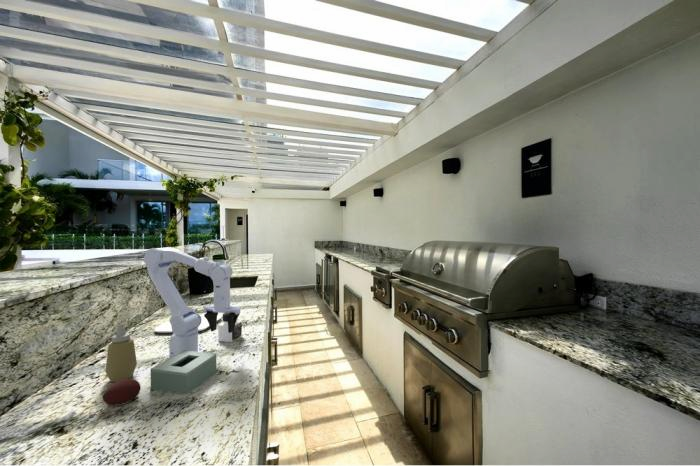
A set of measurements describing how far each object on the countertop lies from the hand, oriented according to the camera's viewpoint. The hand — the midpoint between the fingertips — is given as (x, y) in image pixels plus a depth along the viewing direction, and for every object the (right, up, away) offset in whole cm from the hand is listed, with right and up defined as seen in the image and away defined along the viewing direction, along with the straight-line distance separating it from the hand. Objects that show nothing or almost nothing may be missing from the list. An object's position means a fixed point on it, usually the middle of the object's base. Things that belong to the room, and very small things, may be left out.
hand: (222, 331), depth 106 cm
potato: (-16, -11, -27) cm, 33 cm away
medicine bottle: (-5, -10, +17) cm, 21 cm away
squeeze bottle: (-27, -10, -15) cm, 32 cm away
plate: (-33, -10, +34) cm, 49 cm away
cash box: (-4, -10, -16) cm, 20 cm away
